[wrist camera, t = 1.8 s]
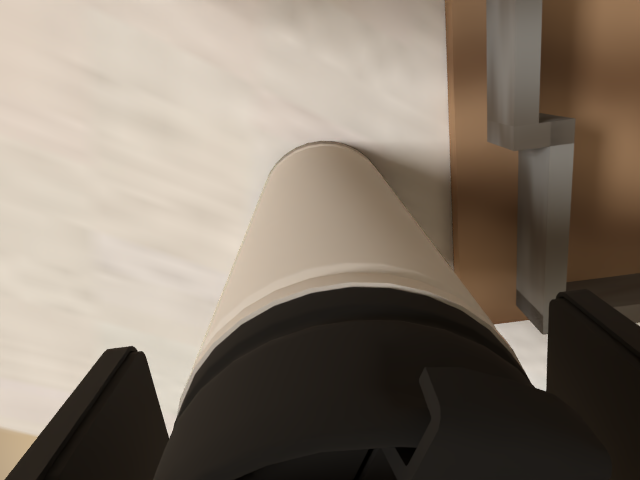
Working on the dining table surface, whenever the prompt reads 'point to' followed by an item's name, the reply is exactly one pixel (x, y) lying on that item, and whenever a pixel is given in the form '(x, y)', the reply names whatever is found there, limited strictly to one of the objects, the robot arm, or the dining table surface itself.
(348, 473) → the travel mug
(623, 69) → the keyhole cradle
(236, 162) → the dining table surface
